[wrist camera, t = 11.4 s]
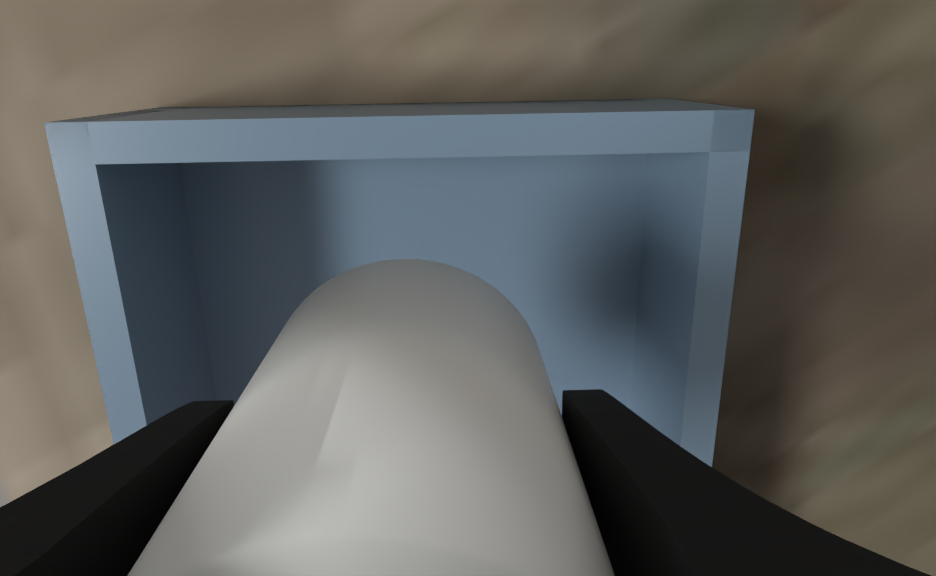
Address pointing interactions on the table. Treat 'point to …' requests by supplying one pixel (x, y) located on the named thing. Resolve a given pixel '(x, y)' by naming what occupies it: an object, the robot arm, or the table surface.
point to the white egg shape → (389, 445)
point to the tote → (410, 236)
